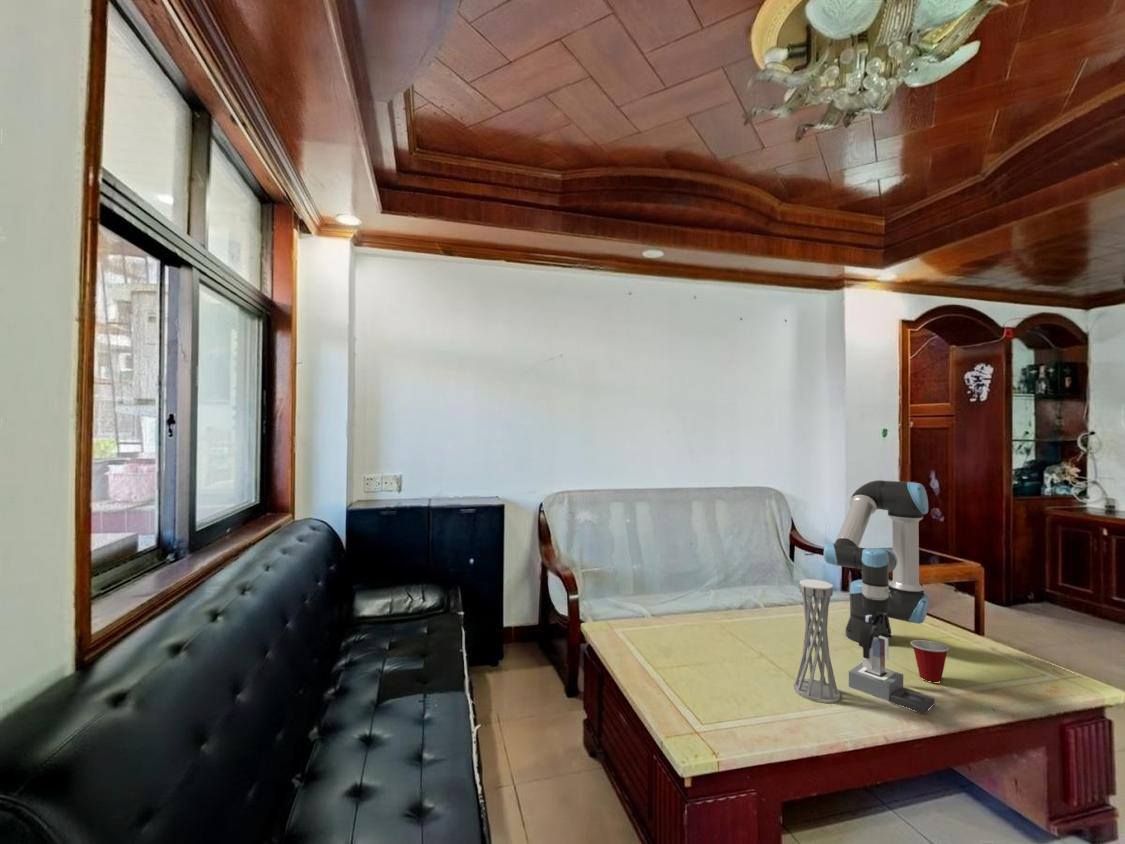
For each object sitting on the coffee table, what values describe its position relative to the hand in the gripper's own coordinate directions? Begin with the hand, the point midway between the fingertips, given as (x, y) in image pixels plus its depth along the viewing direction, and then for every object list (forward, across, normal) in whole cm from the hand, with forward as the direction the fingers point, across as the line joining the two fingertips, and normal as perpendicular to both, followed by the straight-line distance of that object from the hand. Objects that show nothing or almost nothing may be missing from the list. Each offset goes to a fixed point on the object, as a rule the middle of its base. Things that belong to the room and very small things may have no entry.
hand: (875, 662), depth 171 cm
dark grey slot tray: (+9, -2, -11) cm, 14 cm away
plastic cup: (+9, +21, -9) cm, 24 cm away
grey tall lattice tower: (+9, -18, +11) cm, 23 cm away
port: (+9, 0, 0) cm, 9 cm away
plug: (+8, 0, 0) cm, 8 cm away
